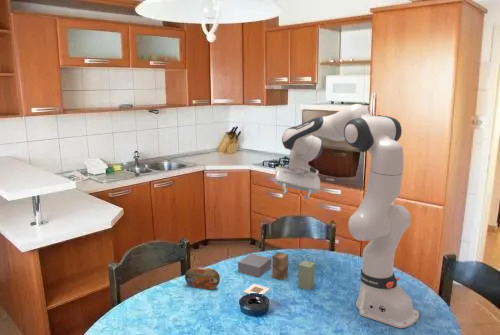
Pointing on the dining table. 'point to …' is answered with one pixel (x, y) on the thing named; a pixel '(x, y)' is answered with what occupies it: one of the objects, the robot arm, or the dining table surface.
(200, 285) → the tin
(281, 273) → the walnut block
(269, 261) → the base block
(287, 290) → the dining table surface
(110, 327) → the dining table surface
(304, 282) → the olive block
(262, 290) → the card
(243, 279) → the dining table surface
